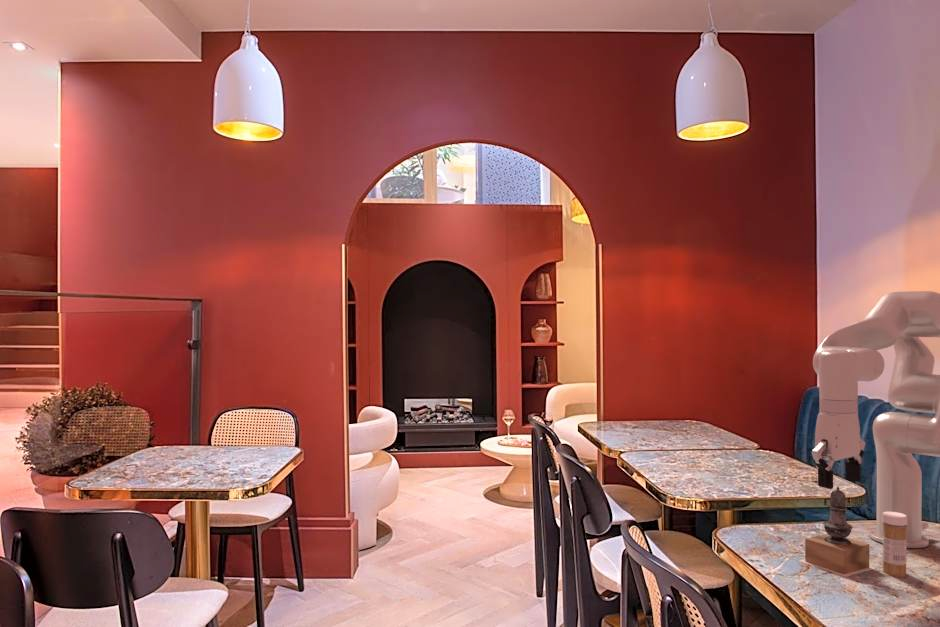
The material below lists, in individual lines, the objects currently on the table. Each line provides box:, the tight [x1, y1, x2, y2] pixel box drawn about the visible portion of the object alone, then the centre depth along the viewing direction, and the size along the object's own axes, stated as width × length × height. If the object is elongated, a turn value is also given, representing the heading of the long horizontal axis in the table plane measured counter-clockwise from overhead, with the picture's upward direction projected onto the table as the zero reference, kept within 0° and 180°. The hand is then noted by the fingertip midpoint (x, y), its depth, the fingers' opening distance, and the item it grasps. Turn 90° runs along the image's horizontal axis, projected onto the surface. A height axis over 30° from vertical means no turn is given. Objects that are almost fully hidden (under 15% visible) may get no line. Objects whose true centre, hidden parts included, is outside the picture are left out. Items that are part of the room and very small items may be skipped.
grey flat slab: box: [798, 558, 877, 578], centre depth 155 cm, size 16×12×1 cm
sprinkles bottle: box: [882, 512, 908, 578], centre depth 150 cm, size 5×5×14 cm
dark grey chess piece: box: [822, 486, 854, 545], centre depth 155 cm, size 6×6×12 cm
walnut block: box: [804, 533, 870, 574], centre depth 155 cm, size 9×9×5 cm
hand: (839, 484), depth 156 cm, fingers open, 9 cm apart
